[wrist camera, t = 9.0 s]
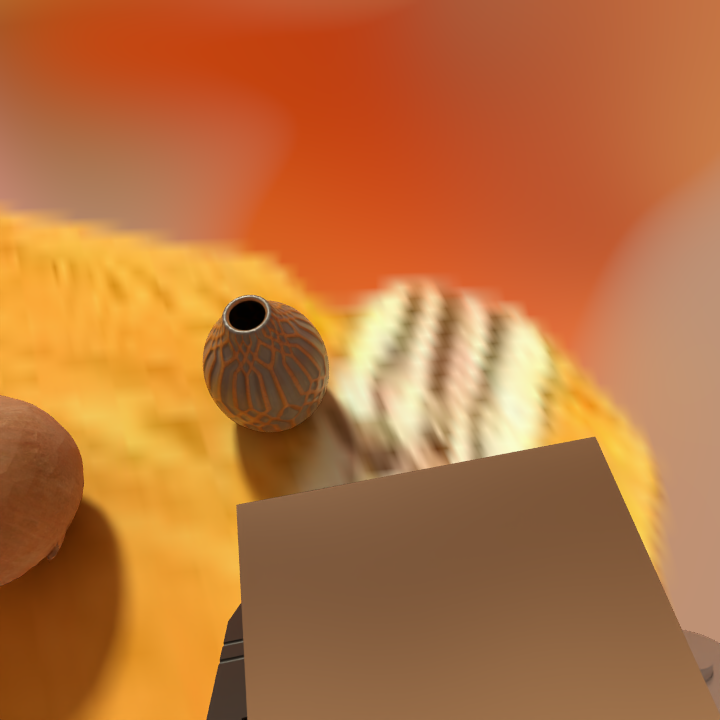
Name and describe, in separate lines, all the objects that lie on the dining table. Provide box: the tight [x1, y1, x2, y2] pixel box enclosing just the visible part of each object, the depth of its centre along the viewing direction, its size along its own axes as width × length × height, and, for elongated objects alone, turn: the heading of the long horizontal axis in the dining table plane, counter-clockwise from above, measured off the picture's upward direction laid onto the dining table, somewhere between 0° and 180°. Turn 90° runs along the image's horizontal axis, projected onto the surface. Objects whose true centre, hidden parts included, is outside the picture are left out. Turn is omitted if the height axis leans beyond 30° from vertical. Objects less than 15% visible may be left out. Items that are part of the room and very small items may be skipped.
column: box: [237, 437, 720, 720], centre depth 10 cm, size 5×5×10 cm
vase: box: [203, 295, 329, 432], centre depth 28 cm, size 7×7×9 cm
